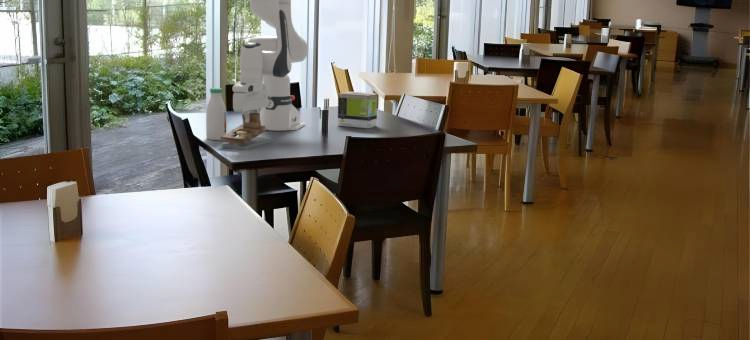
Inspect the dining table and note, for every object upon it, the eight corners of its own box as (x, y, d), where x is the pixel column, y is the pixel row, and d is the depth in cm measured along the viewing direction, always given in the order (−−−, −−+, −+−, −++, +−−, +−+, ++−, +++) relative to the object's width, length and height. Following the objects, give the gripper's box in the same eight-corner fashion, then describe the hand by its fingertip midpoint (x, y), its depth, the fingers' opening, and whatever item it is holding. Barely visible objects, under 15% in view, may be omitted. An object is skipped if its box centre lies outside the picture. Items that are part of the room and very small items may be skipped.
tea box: (377, 126, 381) (378, 93, 378) (367, 129, 372) (368, 95, 369) (347, 122, 387) (347, 90, 384) (336, 125, 378) (337, 92, 375)
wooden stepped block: (243, 128, 334) (241, 111, 331) (265, 130, 330) (264, 113, 327) (221, 141, 320) (218, 124, 318) (243, 144, 316) (242, 126, 314)
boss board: (250, 138, 340) (250, 125, 339) (272, 141, 336) (272, 127, 335) (222, 146, 322) (222, 132, 321) (245, 149, 318) (245, 135, 317)
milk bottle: (222, 141, 333) (221, 90, 329) (203, 139, 334) (202, 88, 330) (229, 138, 340) (229, 87, 336) (210, 136, 342) (210, 86, 337)
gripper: (258, 82, 337) (258, 117, 340) (229, 87, 318) (229, 124, 321) (272, 83, 334) (272, 119, 337) (244, 88, 316) (244, 125, 319)
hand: (251, 121), depth 329 cm, fingers closed on wooden stepped block, 3 cm apart
